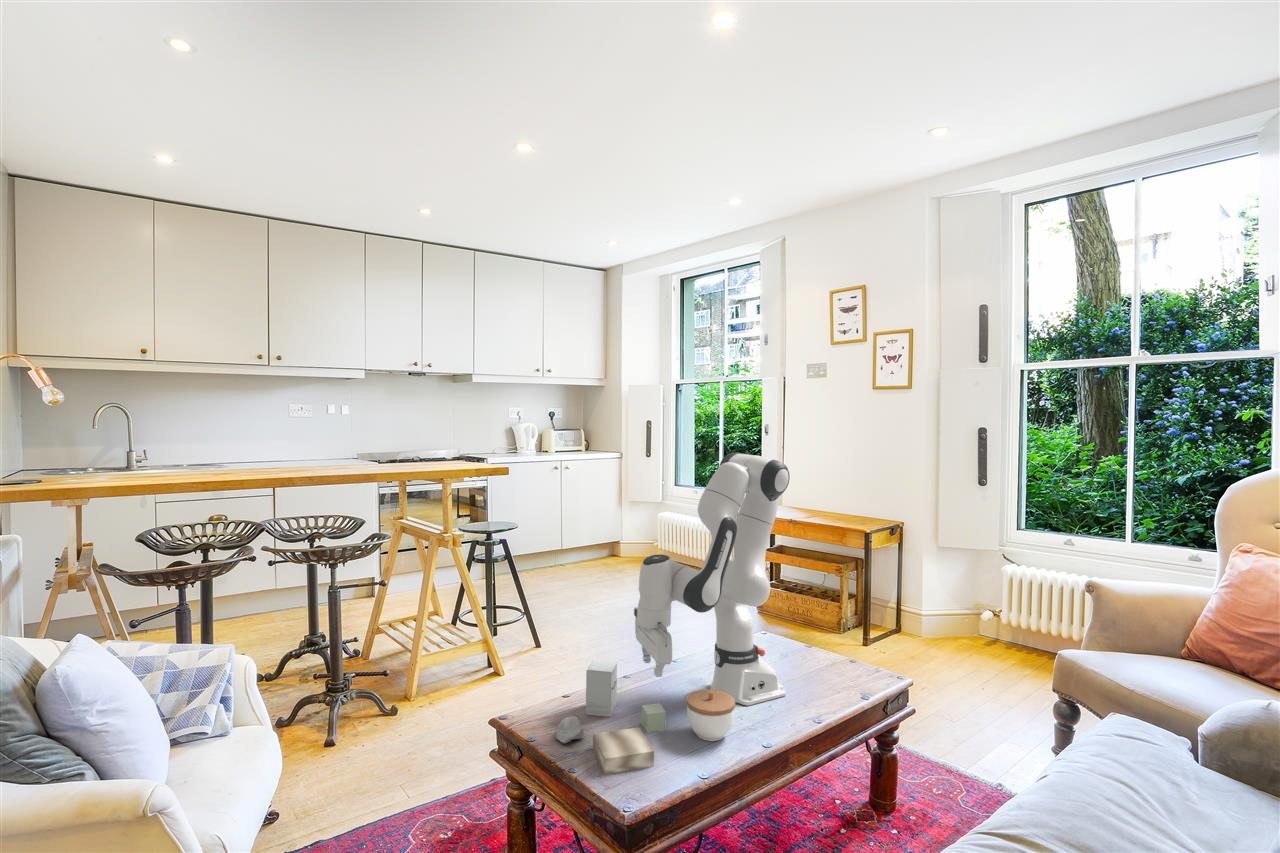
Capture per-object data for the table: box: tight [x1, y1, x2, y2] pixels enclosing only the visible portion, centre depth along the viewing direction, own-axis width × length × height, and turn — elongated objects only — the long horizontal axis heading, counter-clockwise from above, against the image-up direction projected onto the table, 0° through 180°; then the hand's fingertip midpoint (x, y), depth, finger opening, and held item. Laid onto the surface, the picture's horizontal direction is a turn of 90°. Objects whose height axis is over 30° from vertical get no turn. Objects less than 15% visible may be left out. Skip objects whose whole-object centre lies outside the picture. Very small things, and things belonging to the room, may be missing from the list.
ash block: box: [592, 726, 655, 775], centre depth 156 cm, size 12×12×4 cm
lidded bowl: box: [686, 689, 736, 742], centre depth 167 cm, size 13×13×11 cm
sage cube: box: [641, 702, 667, 733], centre depth 171 cm, size 5×5×5 cm
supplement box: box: [585, 660, 618, 718], centre depth 180 cm, size 7×7×13 cm
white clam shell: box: [555, 716, 585, 744], centre depth 165 cm, size 9×8×5 cm
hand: (652, 668), depth 170 cm, fingers open, 8 cm apart
